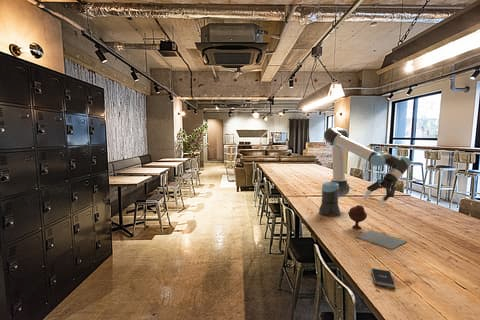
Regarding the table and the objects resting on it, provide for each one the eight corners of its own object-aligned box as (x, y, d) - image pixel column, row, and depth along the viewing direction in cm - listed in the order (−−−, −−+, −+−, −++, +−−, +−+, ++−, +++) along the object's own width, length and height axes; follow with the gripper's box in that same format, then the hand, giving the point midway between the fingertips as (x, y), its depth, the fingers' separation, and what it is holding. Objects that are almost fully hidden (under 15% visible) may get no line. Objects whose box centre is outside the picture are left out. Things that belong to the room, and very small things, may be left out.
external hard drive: (374, 286, 99) (375, 281, 99) (371, 272, 110) (371, 267, 109) (395, 290, 97) (395, 285, 97) (389, 275, 107) (389, 270, 107)
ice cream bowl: (364, 226, 165) (365, 203, 164) (367, 232, 155) (368, 207, 153) (347, 224, 169) (348, 202, 167) (348, 230, 158) (349, 206, 157)
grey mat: (355, 237, 147) (355, 236, 147) (370, 231, 156) (370, 230, 156) (391, 250, 130) (392, 248, 130) (406, 242, 140) (407, 241, 140)
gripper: (374, 170, 176) (355, 193, 174) (406, 175, 152) (384, 202, 150) (380, 177, 178) (361, 200, 176) (412, 184, 154) (390, 210, 152)
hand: (371, 201), depth 163 cm, fingers open, 13 cm apart
